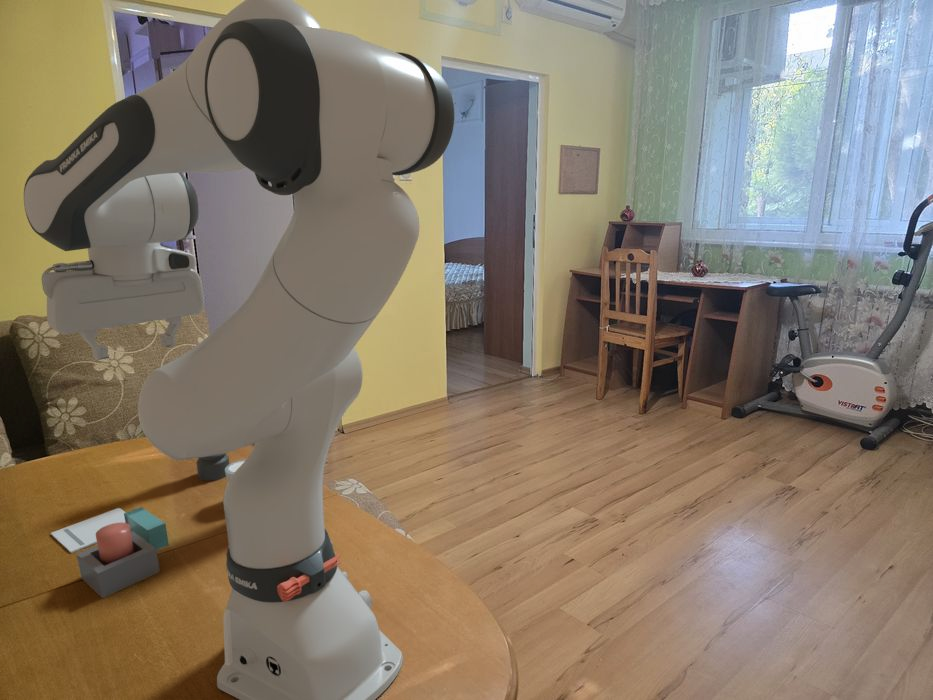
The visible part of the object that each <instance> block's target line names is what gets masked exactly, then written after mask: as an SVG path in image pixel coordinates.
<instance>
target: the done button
mask: <svg viewBox="0 0 933 700" xmlns="http://www.w3.org/2000/svg"><path fill="white" fill-rule="evenodd" d="M96 540H97V543H96V546H98V550H99V556H100V561H101V564H103V565H104V566H105V565H108V564H110V563H112V562H115V561H117V560H119V559H122V558H124V557H126V556H129V555H131V554H133V553H134V549H133V543H132V537H131V531H130V525H129V524H128V523H114V524H110V525H107V526H105V527H102V528H101V529H99V530H98V531H97V532H96Z"/></svg>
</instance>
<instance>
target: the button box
mask: <svg viewBox="0 0 933 700" xmlns="http://www.w3.org/2000/svg"><path fill="white" fill-rule="evenodd" d="M131 537H132V543H133V549H134V553H133V554H131V555H129V556H126V557H124V558H122V559H119V560H117V561H115V562H112V563H110V564H108V565H105V566H104V565H103V564H101V561H100V556H99V550H98V545H95V546H93V547H91V548H88V549H86V550H83V551H81V552H79V553H76V556H77V557H76V558H77V562H78V567H79V573H80V578H81V579H82V580H83V581H84V582H85V583H86V584H87V585H88V586H89V587H90V588H91V589H92V590H93V589H94V590H95V591H94V592H95V593H96V594H98V595H99V596H100V598H101V599H104V598H107V597H108V595H109V596H111V595H113V594H115V593H117V592H119V591H121V590H123V589H125V588H128V587H129V586H132V585H134V584H136V582H137V583H139V582H140V581H143V580H145V579H147V578H149V577H152V576H153V575H156V574H158V573H160V565H159V559H158V554H157V550H156V548H155V547H154V546H152V545H151V544H150V543H148V542H147V541H145V540H144V539H143V538H141V537H140V536H139V535H137V534H136V533H135V532H131ZM151 575H152V576H151ZM144 578H145V579H144ZM112 593H113V594H112ZM106 596H107V597H106Z"/></svg>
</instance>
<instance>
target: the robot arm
mask: <svg viewBox="0 0 933 700" xmlns="http://www.w3.org/2000/svg"><path fill="white" fill-rule="evenodd" d="M454 125H455V106H454V99H453V96H452V92H451V90H450V88H449V85H448V83H447V82H446V81H445V79H444V77H443V76H442V75H441V74H440V73H439V72H438V71H436V70H435V69H434V68H433V67H432V66H430V65H429V64H427V63H426V62H424V61H423V60H421V59H419V57H418V58H417V57H415V56H413V55H411V54H408V53H405V52H400V51H394V50H391V49H388V48H386V47H383V46H381V45H378V44H375V43H372V42H369V41H367V40H363V39H362V38H360V37H358V36H356V35H353V34H350V33H347V32H343V31H338V30H331V29H327V28H322V27H321V25H320V24H319V23H318V21H317V20H316V19H315V18H314V16H313V15H311V13H310V12H308V11H307V10H306V9H305V8H304V7H303V6H301V4H298V2H295V1H294V0H244V1H242V2H240V3H239V4H238V5H236V6H235V7H234V8H233V9H231V10H230V11H229V12H228V13H227V14H225V16H223V17H222V18H221V19H220V20H219V21H218V22H217V23H216V24H215V25H213V27H212V28H211V29H210V30H208V32H207V33H206V34H205V35H204V36H203V38H202V39H201V40H200V41H199V42H198V44H197V45H196V46H195V48H194V49H193V50H192V52H191V53H190V54H189V56H188V57H187V58H186V59H185V60H184V61H183V62H182V63H181V64H180V65H179V66H178V67H177V68H176V69H174V70H173V71H172V72H170V73H168V74H167V75H166V76H165V77H163V78H161V79H160V80H159V81H157V82H155V83H153V84H151V85H150V86H147V87H146V88H144V89H142V90H141V91H139V92H137V93H134V94H131V95H129V96H127V97H124V98H123V99H121V100H119V101H117V102H115V103H113V104H112V105H110V106H109V107H108V108H107V109H105V110H104V111H102V113H101V114H100V115H99V116H98V117H97V118H96V119H95V120H94V121H92V122H91V123H90V124H89V125H88V126H87V127H86V128H85V130H83V131H82V132H81V133H80V134H79V135H78V137H76V138H75V139H74V140H73V141H72V142H71V143H70V144H69V145H68V146H67V147H66V148H65V149H64V150H63V151H62V152H61V153H60V154H59V155H58V156H56V158H54V159H48V160H45V161H43V162H41V164H39V165H38V166H36V168H35V169H34V170H32V172H31V173H30V175H28V177H27V178H26V181H25V183H24V187H23V204H24V205H23V206H24V212H25V215H26V218H27V221H28V224H29V225H30V227H31V229H32V230H33V232H34V233H35V234H37V235H38V236H39V237H40V238H42V239H43V240H45V241H46V242H48V243H49V244H51V245H53V246H54V247H56V248H58V249H60V250H62V251H64V252H69V251H71V252H73V251H78V250H87V252H88V253H87V254H88V260H82V261H74V262H68V263H66V262H59V263H54V264H52V266H50V267H48V268H46V269H45V270H44V271H43V273H42V274H41V279H40V280H41V283H42V284H41V285H42V291H43V292H44V294H45V295H46V319H47V324H48V326H49V327H50V328H51V329H53V330H54V331H55V332H57V333H59V334H61V335H70V334H77V333H80V336H81V337H82V339H83V340H84V341H85V342H86V343H87V344H88V345H89V346H90V347H91V351H92V352H91V353H92V357H93V359H94V360H95V361H101V360H105V359H109V358H110V355H109V347H108V346H107V345H105V344H103V343H101V344H99V343H98V342H97V341H96V340H95V338H98V337H99V336H98V330H102V329H103V330H104V329H110V328H115V327H123V326H129V325H135V324H136V325H137V324H142V323H149V322H155V321H161V320H165V322H166V323H168V325H167V327H166V329H165V331H164V333H160V334H159V338H160V345H161V346H162V347H164V348H169V347H174V346H176V335H177V333H178V331H179V329H180V327H181V326H182V317H186V316H194V315H199V314H201V312H202V311H203V309H204V307H205V297H204V295H205V294H204V287H203V283H202V278H201V277H200V274H199V273H198V272H197V271H196V270H195V268H196V265H197V257H196V256H195V255H194V254H193V253H190V252H187V251H184V250H181V249H176V248H173V247H171V246H168V245H164V244H162V243H170V242H171V243H172V242H175V241H180V240H185V239H186V238H187V237H188V236H190V234H191V233H192V232H193V231H194V228H195V226H196V224H197V222H198V219H199V213H200V212H199V200H198V195H197V192H196V189H195V187H194V185H193V184H192V182H191V181H189V179H188V178H187V177H186V176H184V175H183V173H190V174H191V173H221V172H223V173H224V172H234V171H238V170H239V171H240V170H242V169H244V168H247V169H248V170H250V171H252V173H254V175H255V178H256V180H257V182H258V184H259V186H261V187H262V188H263V189H265V190H267V191H268V192H270V193H273V194H275V195H279V196H290V195H293V200H294V201H293V202H294V209H293V213H292V216H291V219H290V222H289V224H288V226H287V227H286V230H285V231H284V233H283V235H282V236H281V238H280V239H279V241H278V243H277V245H276V248H275V249H274V252H273V253H272V256H271V257H270V259H269V261H268V262H267V265H266V266H265V268H264V270H263V272H262V274H261V275H260V277H259V279H258V281H257V283H256V284H255V286H254V288H253V289H252V291H251V293H250V294H249V296H248V297H247V299H246V300H245V301H244V302H243V304H242V305H241V306H240V307H239V308H238V309H237V310H235V312H234V313H233V314H232V315H231V316H230V317H228V318H227V320H225V321H224V322H223V323H221V325H219V326H218V327H217V328H216V329H215V330H214V331H213V332H212V333H210V334H209V335H207V337H205V338H204V339H203V340H202V341H201V342H200V343H198V344H196V346H193V348H191V349H190V350H188V351H187V352H185V353H184V354H182V355H180V356H179V357H177V358H175V359H174V360H171V361H170V362H168V363H166V364H164V365H162V366H160V367H158V368H156V369H154V370H152V371H151V372H150V373H148V376H146V379H145V381H144V382H143V384H142V387H141V389H140V392H139V396H138V401H137V415H138V419H139V420H138V421H139V424H140V427H141V429H142V432H143V433H144V435H145V437H146V439H147V440H148V441H149V442H150V443H151V445H153V447H154V448H155V449H156V450H157V451H159V452H160V453H162V454H163V455H165V456H166V457H169V458H170V459H173V460H176V461H183V460H191V459H192V460H193V459H198V458H201V457H207V456H214V455H220V454H225V453H226V454H228V453H231V452H234V451H236V450H239V449H242V448H245V447H248V446H251V445H253V444H254V446H253V447H252V450H251V452H250V453H249V455H248V456H247V458H246V461H245V462H244V463H243V464H242V465H241V466H240V467H239V468H238V469H237V470H236V472H235V473H234V474H233V475H232V477H231V478H230V479H229V481H228V482H227V484H226V485H225V488H224V489H225V490H224V492H223V493H224V494H223V499H222V500H223V510H224V518H225V525H226V532H227V533H226V534H227V542H228V547H227V549H226V562H225V567H226V573H227V575H228V582H229V585H230V586H231V591H230V595H229V598H228V600H227V604H226V608H225V610H224V611H223V612H224V613H223V615H222V617H223V644H224V645H223V649H224V663H223V665H222V666H221V668H220V669H219V671H218V673H217V676H216V686H217V689H219V690H220V691H222V692H224V693H227V694H228V695H230V696H232V697H234V698H236V699H238V700H376V699H377V698H378V697H380V696H381V695H382V694H383V693H384V692H385V691H386V689H388V688H389V686H390V685H391V684H392V682H394V681H395V679H396V677H397V675H398V674H399V673H400V670H401V668H402V665H403V662H404V658H403V653H402V651H401V650H400V649H399V648H398V647H397V646H396V645H395V644H394V643H393V642H392V641H391V640H390V639H389V638H388V637H387V636H386V635H385V634H384V633H383V632H382V631H381V630H380V628H379V623H378V620H377V618H376V615H375V614H374V612H373V611H372V609H371V607H372V606H373V600H372V596H371V594H370V593H369V592H368V591H367V590H366V589H365V590H364V589H363V590H361V591H359V592H358V590H356V588H355V587H354V586H353V585H352V583H351V582H350V581H349V576H348V573H347V572H346V571H341V569H340V567H338V566H339V565H340V564H341V562H342V561H341V560H339V559H340V558H342V557H341V554H337V555H336V554H335V550H334V544H333V542H332V540H331V538H330V535H329V533H328V531H327V529H326V528H325V516H324V515H325V514H324V486H323V483H324V482H323V481H324V472H325V468H326V466H325V465H326V460H327V457H328V453H329V450H330V447H331V443H332V441H333V438H334V435H335V433H336V432H337V428H338V426H339V424H340V422H341V420H342V419H343V417H344V415H345V413H346V412H347V411H348V409H349V408H350V406H351V405H352V404H353V403H354V401H356V399H357V398H358V397H359V395H360V392H361V389H362V384H363V378H364V377H363V375H364V374H363V366H362V361H361V358H360V355H359V354H358V352H357V350H356V348H355V346H356V345H357V344H358V342H360V340H361V338H362V337H363V336H364V334H365V333H366V332H367V330H368V328H369V327H370V326H371V325H372V323H373V321H374V320H375V319H376V318H377V316H378V315H379V313H380V312H381V311H382V309H384V307H385V305H386V303H387V302H388V301H389V299H390V297H391V296H392V294H393V293H394V291H395V289H396V288H397V285H398V284H399V282H400V280H401V278H402V276H403V275H404V273H405V270H406V268H407V266H408V264H409V263H410V260H411V258H412V255H413V253H414V251H415V248H416V245H417V242H418V239H419V237H420V228H421V227H420V219H419V214H418V211H417V207H416V206H415V204H414V202H413V200H412V199H411V198H410V196H409V195H408V193H407V192H406V190H404V189H403V188H402V187H401V186H400V185H398V183H396V182H395V179H394V176H404V175H405V176H406V175H409V174H412V173H416V172H420V171H422V170H424V169H426V168H429V167H431V166H432V165H434V164H435V163H436V162H437V161H439V159H440V158H441V157H442V156H443V154H444V153H445V152H446V150H447V148H448V146H449V143H450V141H451V139H452V136H453V133H454V128H455V127H454ZM269 183H270V184H271V185H270V184H269ZM338 560H339V561H338Z"/></svg>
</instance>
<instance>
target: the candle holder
mask: <svg viewBox="0 0 933 700" xmlns="http://www.w3.org/2000/svg"><path fill="white" fill-rule="evenodd" d="M229 464H230V457H229V455H228V454H227V453H225V454H220V455H214V456H207V457H201V458H197V461H196V470H197V476H198V479H199V480H201V481H204V482H212V481H217V480H222V479H224V478H227V477H226V473H225V468H226V467H227V466H228V465H229Z"/></svg>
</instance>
